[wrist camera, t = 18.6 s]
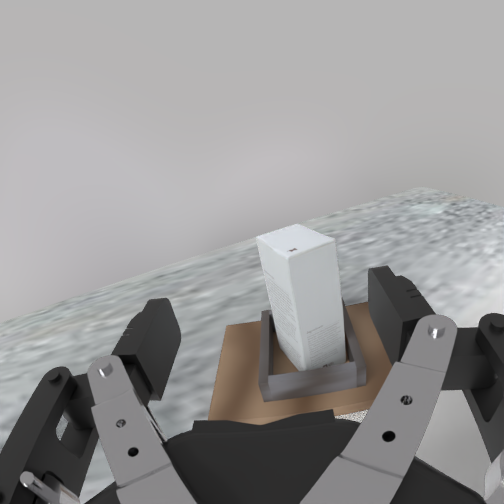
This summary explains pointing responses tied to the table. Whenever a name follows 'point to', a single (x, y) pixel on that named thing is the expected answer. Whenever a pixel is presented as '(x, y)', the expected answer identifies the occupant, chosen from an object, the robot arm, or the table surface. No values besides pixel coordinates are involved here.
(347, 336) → the holder
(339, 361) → the skincare box
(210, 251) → the table surface
